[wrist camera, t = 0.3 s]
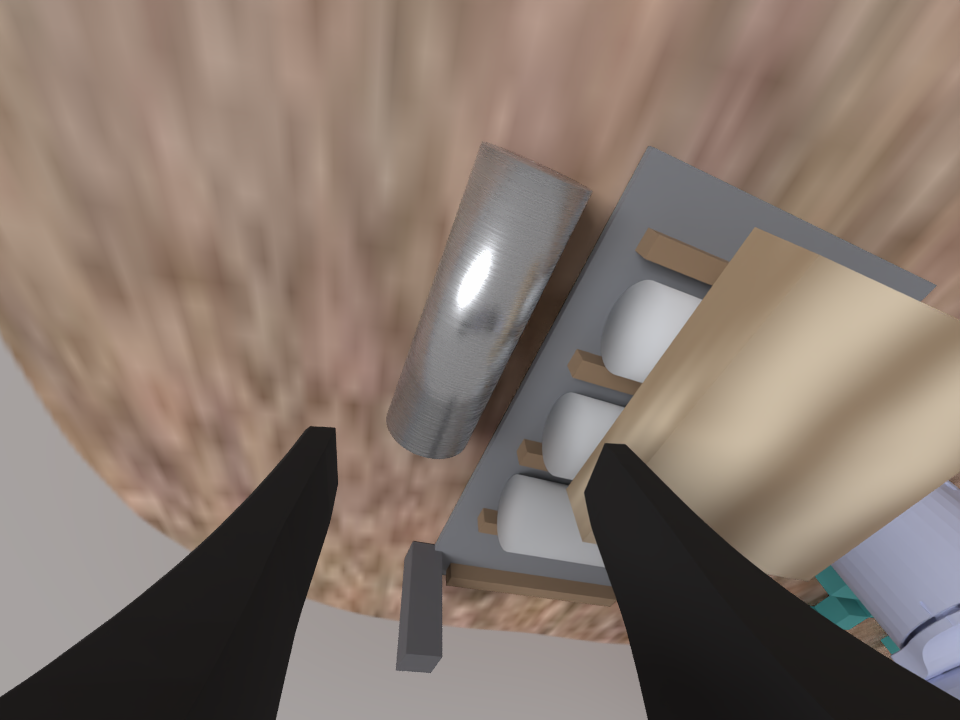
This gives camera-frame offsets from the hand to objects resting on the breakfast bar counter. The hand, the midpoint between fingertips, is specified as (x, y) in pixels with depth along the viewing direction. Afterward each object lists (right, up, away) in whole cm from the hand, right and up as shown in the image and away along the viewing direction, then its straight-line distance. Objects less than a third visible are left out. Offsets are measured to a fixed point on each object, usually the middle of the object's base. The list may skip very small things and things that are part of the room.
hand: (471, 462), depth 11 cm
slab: (+12, 0, +5) cm, 13 cm away
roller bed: (+9, -3, +13) cm, 16 cm away
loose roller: (0, +6, +7) cm, 9 cm away
